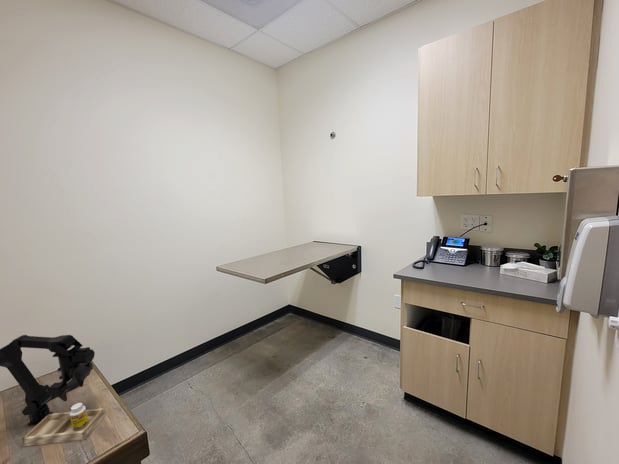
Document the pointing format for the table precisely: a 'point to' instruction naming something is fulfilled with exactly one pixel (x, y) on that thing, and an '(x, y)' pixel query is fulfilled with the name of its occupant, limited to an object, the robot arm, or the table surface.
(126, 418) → the table surface
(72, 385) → the carrying case or bag
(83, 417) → the supplement bottle
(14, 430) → the table surface
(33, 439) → the wooden divided tray
